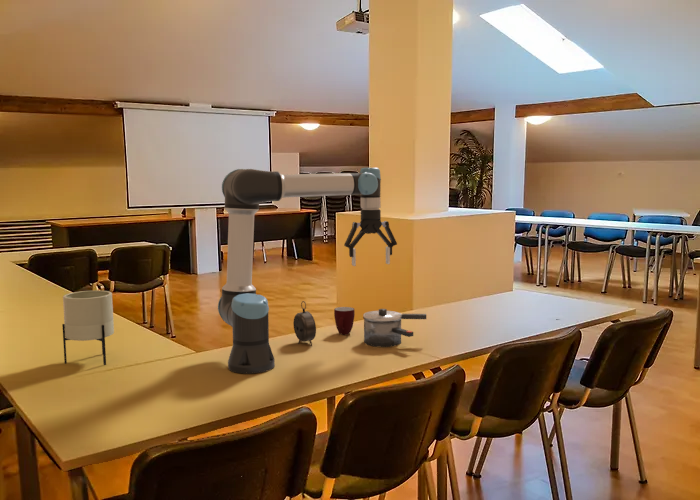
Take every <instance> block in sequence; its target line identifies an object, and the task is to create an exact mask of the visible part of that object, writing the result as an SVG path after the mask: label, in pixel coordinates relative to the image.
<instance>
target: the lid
mask: <svg viewBox="0 0 700 500" xmlns="http://www.w3.org/2000/svg"><path fill="white" fill-rule="evenodd" d="M362 318H363V320H364V319H365V320H367V321H371V322H395V321H399V320H401V321H402V320H427V313H401V312H398V311H393V310H388V309H387V308H379V309H378V310H371V311H366V312H364V313H363V317H362Z"/></svg>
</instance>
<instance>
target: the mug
mask: <svg viewBox="0 0 700 500" xmlns="http://www.w3.org/2000/svg"><path fill="white" fill-rule="evenodd" d="M333 315H334V316H333V317H334V321H335V327H336V330H337V331H338V333H339V335H342V336H343V335H346V336H347V335H350V334H351V332H352V330H353V327H354V320H355V308H354V307H351V306H339V307H335V308H334V312H333Z"/></svg>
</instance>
